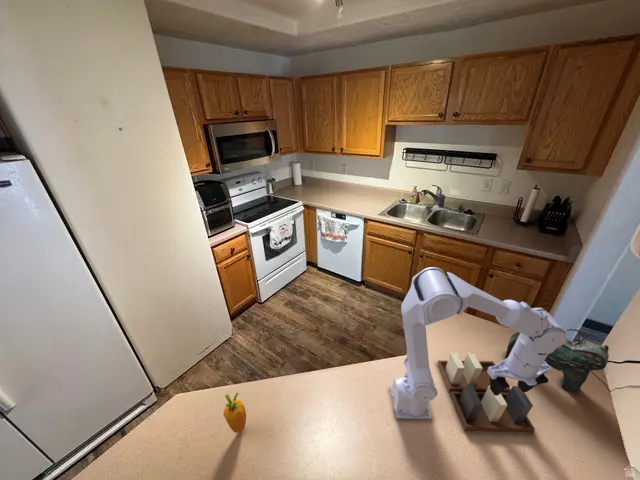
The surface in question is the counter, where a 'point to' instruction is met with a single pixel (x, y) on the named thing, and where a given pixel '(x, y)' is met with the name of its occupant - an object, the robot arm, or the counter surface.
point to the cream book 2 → (471, 369)
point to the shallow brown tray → (479, 386)
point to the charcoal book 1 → (469, 403)
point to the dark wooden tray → (483, 422)
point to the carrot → (235, 414)
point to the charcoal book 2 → (518, 404)
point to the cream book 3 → (493, 405)
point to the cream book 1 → (454, 368)
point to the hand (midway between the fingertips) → (507, 390)
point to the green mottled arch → (573, 360)
